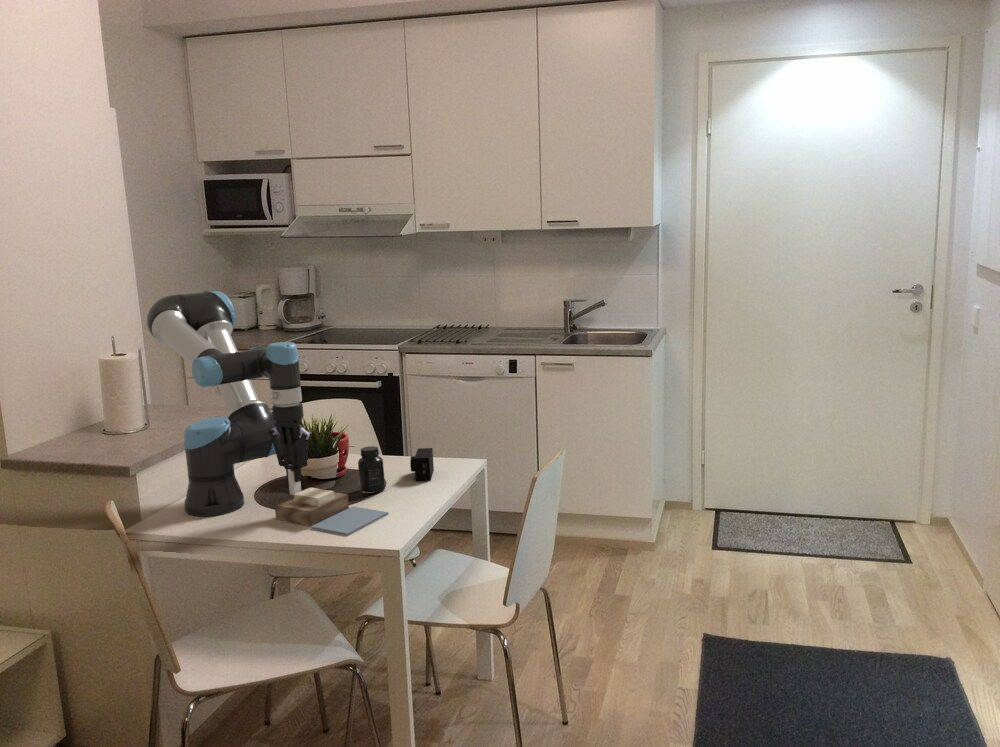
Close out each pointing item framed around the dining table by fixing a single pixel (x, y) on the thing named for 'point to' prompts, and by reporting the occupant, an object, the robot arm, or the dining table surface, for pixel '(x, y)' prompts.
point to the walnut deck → (310, 510)
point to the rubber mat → (349, 520)
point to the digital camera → (422, 464)
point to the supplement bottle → (371, 470)
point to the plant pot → (342, 446)
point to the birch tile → (314, 496)
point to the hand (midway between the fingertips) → (295, 493)
